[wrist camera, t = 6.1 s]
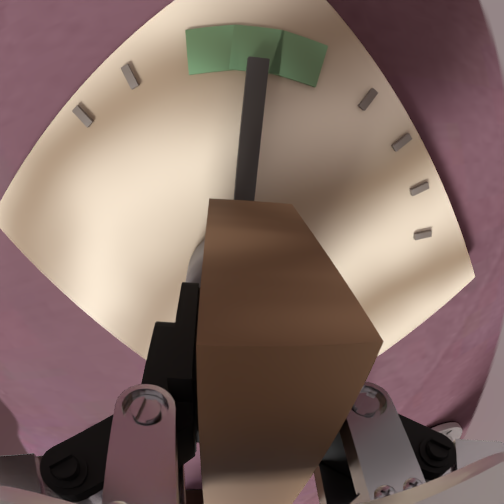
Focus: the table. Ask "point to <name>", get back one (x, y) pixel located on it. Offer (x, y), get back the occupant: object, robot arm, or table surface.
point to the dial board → (234, 167)
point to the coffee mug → (194, 496)
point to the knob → (270, 337)
